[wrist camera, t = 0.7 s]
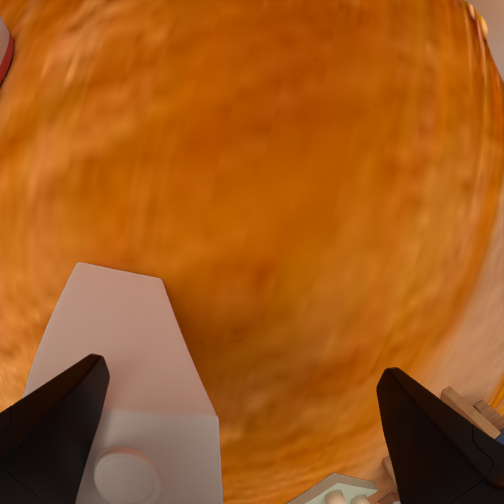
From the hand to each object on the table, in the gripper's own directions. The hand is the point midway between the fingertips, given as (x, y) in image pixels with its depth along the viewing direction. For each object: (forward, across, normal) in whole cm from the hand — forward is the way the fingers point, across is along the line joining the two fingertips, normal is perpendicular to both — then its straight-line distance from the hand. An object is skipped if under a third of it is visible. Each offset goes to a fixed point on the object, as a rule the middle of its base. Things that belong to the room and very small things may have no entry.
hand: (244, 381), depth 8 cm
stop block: (+6, -28, +45) cm, 53 cm away
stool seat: (+7, -14, +38) cm, 41 cm away
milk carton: (+12, +11, +7) cm, 18 cm away
